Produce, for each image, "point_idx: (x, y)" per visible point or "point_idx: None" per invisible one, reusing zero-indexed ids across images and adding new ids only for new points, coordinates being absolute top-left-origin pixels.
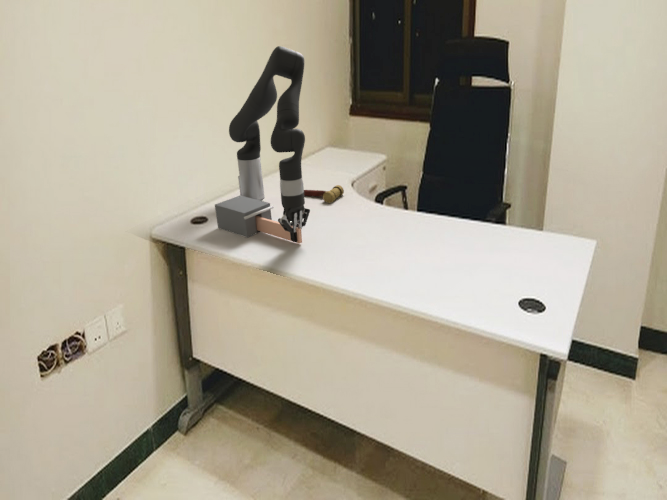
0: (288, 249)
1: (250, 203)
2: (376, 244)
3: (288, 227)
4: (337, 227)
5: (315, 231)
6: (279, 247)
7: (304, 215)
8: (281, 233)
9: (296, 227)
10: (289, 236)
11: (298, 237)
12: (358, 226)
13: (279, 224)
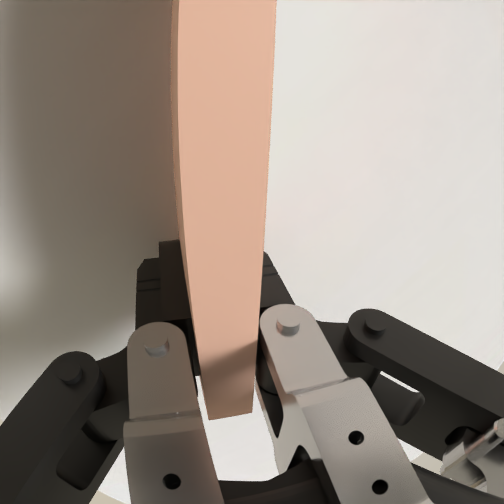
0: (70, 286)
1: None
2: None
3: (69, 479)
4: (487, 246)
5: (441, 189)
6: (31, 201)
7: (436, 441)
8: (172, 54)
9: (246, 376)
10: (177, 204)
11: None
12: (489, 297)
13: (177, 3)
